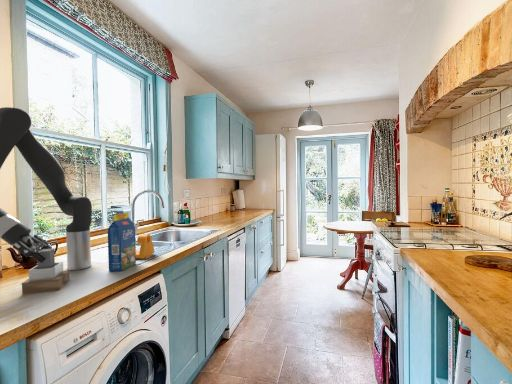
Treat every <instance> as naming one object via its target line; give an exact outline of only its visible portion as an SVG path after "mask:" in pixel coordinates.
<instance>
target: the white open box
mask: <svg viewBox="0 0 512 384" xmlns="http://www.w3.org/2000/svg"><path fill="white" fill-rule="evenodd" d="M63 271H64V261H60V262H57V261H56V262H55V267H52V268H41V269H38V264H37V265H35V266H33V267H32V268H30V269H29V270H28V279H29V281H36V280H46V279H55V278H57V277H58V276H59V275H60V274H61V273H63Z"/></svg>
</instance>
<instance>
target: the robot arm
mask: <svg viewBox="0 0 512 384" xmlns="http://www.w3.org/2000/svg"><path fill="white" fill-rule="evenodd" d="M32 122H33V121H32V118H31V116H30V114H29V113H28V112H27V111H25V110H23V109H22V108H19V107H11V106H10V107H0V170H1V168H2V166H3V165H4V163H5V162H6V159H8V157H9V155H10V153H11V152H12V151H13V149H14V148H15V147H16V148H17V150H18V151H19V152H20V154H21V155H22V157H23V159H24V161H25V162H26V163H27V164H28V166H29V167H30V169H31V170H32V171H33V172H34V174H35V175H36V176H37V178H38V179H39V180H40V181H41V182H42V184H43V186H44V187H45V188H46V189H47V190H48V192H49V193H50V194H51V196H52V197H53V198H54V200H55V202H56V204H57V205H58V207H59V209H60V210H61V212H62V213H63V214H65V215H67V216H69V217H72V221H71V223H69V224H67V225H65V226H66V227H65V237H66V262H67V264H66V267H67V270H69V271H78V270H85V269H88V268H89V267H91V266H92V260H91V259H92V255H91V252H92V251H91V230H90V229H91V228H90V227H91V224H92V222H93V221H92V218H93V217H92V216H93V215H92V214H93V213H92V212H93V211H92V209H93V207H92V202H91V200H90V199H89V198H88V197H87V196H83V195H81V196H80V195H79V196H78V195H77V196H76V195H74V194H73V193H72V192H71V191H70V189H69V188H68V187H67V184H66V177H65V171H64V169H63V166H61V164H60V162H59V161H58V160H57V158H56V157H55V156H54V154H53V153H51V152H50V150H49V149H48V148H46V147H45V146H44V145H43V144H42V143H41V142H40V141H39V140H38V139H37V138H36V136H35V135H34V134H33V132H32V130H31V126H32V124H33V123H32ZM31 232H32V229H31V228H29V227H28V226H27V225H25V224H24V223H22V222H21V221H20V220H18V219H17V218H16V217H14V216H12V215H10V214H9V213H7V212H6V211H5V210H3V209H2V208H0V239H1V240H3V241H5V243H6V244H8V245H10V246H11V247H12V248H13V249H15V250H16V251H17V252H19V253H20V254H21V255H22V256H23V257H25V258H28V257H30V258H33V259H34V260H36V261H37V262H38V261H39V262H40V263H42V262H44V261H45V260H46V257H45V256H43V255H42V254H41V253H39V252H38V251H40V250H42V249H52V248H51V247H50V246H49V245H50V243H49V242H48V241H46V240H45V239H44V238H42V237H40V236H39V235H38V234H34V235H30V233H31ZM56 253H57V252H56V251H55V250H54V256H55V254H56Z"/></svg>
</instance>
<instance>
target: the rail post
mask: <svg viewBox="0 0 512 384" xmlns="http://www.w3.org/2000/svg"><path fill="white" fill-rule="evenodd" d="M54 251H55V248H51V249H42V250H37V252H39V253H41V254H42V255H43V256H45V257H46V260H45V261H44V262H42V263H40V262H39V261H37V265H38V269H41V268H52V267H55V263H56V262H55V259H56V258H55V255H54Z"/></svg>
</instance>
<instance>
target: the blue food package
mask: <svg viewBox="0 0 512 384" xmlns="http://www.w3.org/2000/svg"><path fill="white" fill-rule="evenodd" d="M107 251H108V252H107V253H108V254H107V255H108V256H107V257H108V271H109V272H123V271H125V270H126V269H129V268H131V267H133V265H135V264H136V263H137V258H136V252H137V250H136V226H135V223H134V221H133V220H132V219H131V218H130V215H129V212H123V213H119V214H118V213H117V214H114V215H113V221H112V223H110V225H109V226H108V229H107Z"/></svg>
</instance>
